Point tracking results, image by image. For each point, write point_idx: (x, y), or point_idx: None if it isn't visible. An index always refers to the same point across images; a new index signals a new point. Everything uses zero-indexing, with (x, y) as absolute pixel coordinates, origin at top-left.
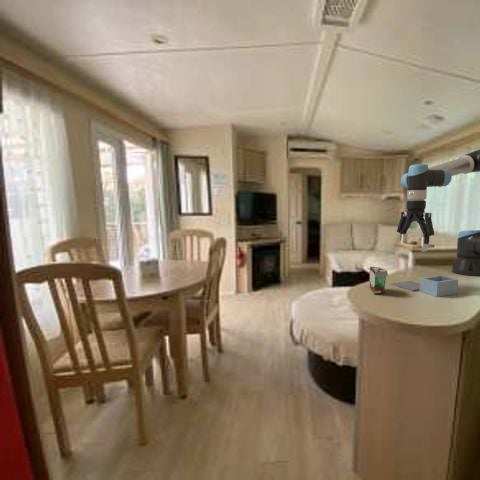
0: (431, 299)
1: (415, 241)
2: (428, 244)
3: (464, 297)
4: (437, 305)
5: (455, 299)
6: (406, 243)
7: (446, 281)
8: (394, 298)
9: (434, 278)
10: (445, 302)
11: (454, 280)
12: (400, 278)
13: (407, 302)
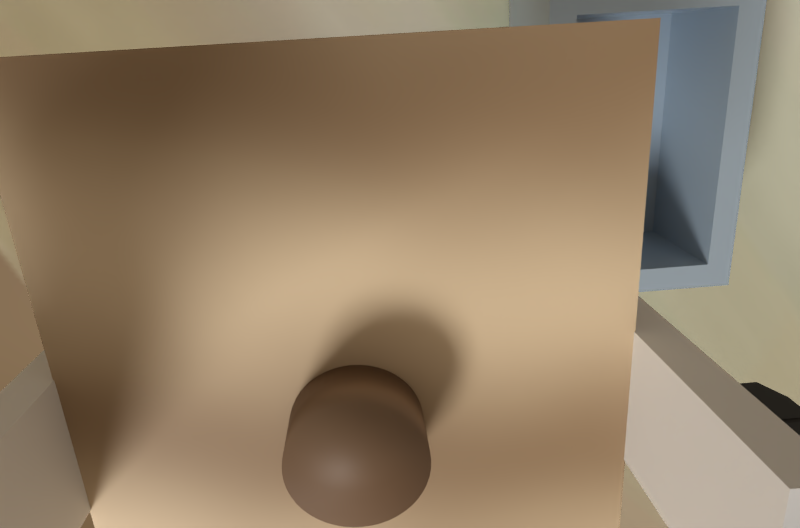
0: (681, 325)
1: (356, 423)
2: (547, 135)
3: (778, 42)
4: (776, 387)
5: (768, 164)
6: (190, 484)
7: (743, 164)
8: None
9: None
10: (769, 292)
11: (759, 39)
12: (38, 39)
13: (648, 501)
